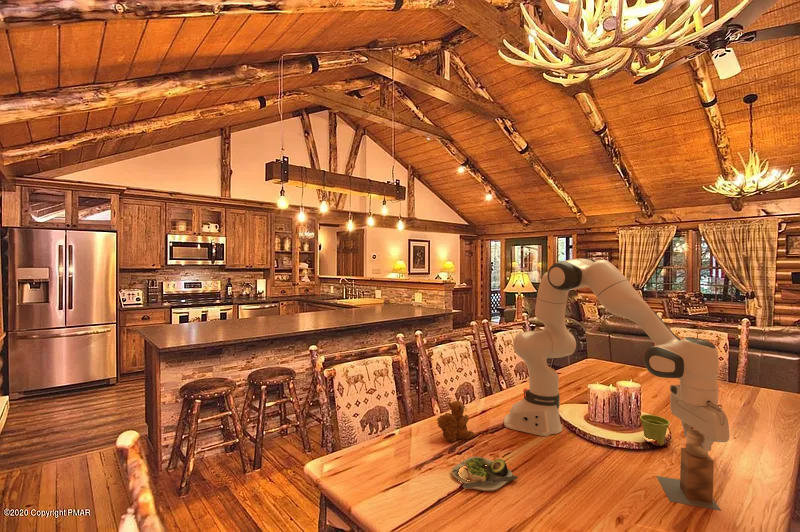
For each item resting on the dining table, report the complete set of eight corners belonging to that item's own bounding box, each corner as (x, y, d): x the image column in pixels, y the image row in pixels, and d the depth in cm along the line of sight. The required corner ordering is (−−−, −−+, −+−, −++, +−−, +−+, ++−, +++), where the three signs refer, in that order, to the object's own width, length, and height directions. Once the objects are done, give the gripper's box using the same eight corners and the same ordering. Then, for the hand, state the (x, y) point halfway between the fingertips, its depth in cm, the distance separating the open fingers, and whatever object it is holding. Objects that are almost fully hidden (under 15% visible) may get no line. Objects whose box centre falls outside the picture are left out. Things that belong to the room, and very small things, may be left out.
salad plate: (486, 506, 110) (486, 489, 110) (438, 479, 123) (438, 464, 123) (523, 479, 123) (523, 465, 123) (475, 458, 136) (476, 444, 136)
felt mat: (669, 502, 112) (669, 501, 112) (655, 476, 125) (655, 475, 125) (721, 512, 108) (721, 510, 108) (701, 484, 121) (701, 483, 121)
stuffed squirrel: (476, 435, 153) (476, 401, 152) (454, 448, 142) (454, 411, 142) (454, 427, 160) (455, 395, 159) (432, 439, 149) (432, 404, 149)
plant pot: (674, 449, 143) (674, 425, 143) (645, 447, 145) (645, 423, 145) (662, 438, 152) (663, 415, 152) (635, 435, 154) (636, 413, 154)
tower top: (687, 478, 113) (688, 457, 113) (680, 467, 118) (681, 447, 118) (713, 482, 111) (713, 460, 111) (704, 471, 116) (705, 450, 116)
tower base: (687, 498, 113) (687, 478, 113) (680, 487, 119) (680, 467, 118) (712, 503, 111) (713, 482, 111) (704, 491, 117) (704, 471, 116)
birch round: (686, 454, 114) (687, 433, 114) (685, 447, 118) (686, 427, 118) (708, 459, 111) (709, 438, 111) (706, 452, 115) (707, 432, 115)
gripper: (737, 409, 103) (736, 462, 104) (687, 384, 124) (686, 428, 124) (712, 408, 104) (710, 461, 104) (666, 383, 124) (665, 427, 125)
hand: (697, 443), depth 114 cm, fingers open, 6 cm apart
